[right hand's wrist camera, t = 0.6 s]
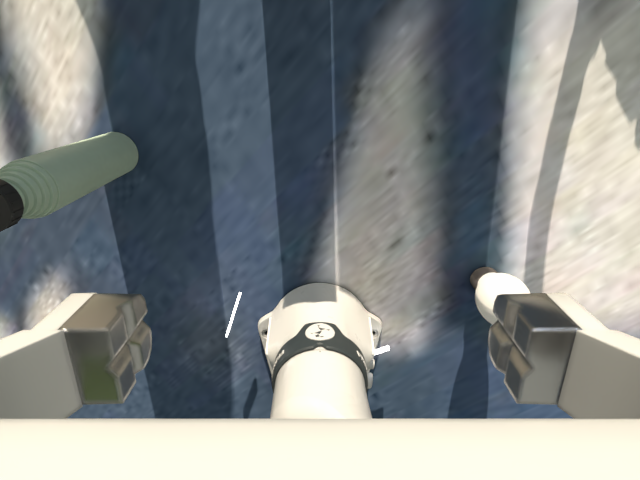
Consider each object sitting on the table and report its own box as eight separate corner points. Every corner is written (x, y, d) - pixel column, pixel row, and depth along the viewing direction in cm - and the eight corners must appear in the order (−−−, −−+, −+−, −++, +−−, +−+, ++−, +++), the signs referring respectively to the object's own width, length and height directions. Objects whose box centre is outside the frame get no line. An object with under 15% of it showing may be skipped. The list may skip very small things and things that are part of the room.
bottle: (140, 137, 56) (20, 181, 34) (137, 177, 58) (22, 244, 35) (97, 127, 55) (-53, 166, 33) (95, 168, 57) (-47, 230, 35)
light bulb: (457, 295, 64) (483, 338, 54) (467, 254, 62) (496, 291, 51) (502, 299, 64) (536, 343, 54) (513, 258, 62) (552, 295, 52)
